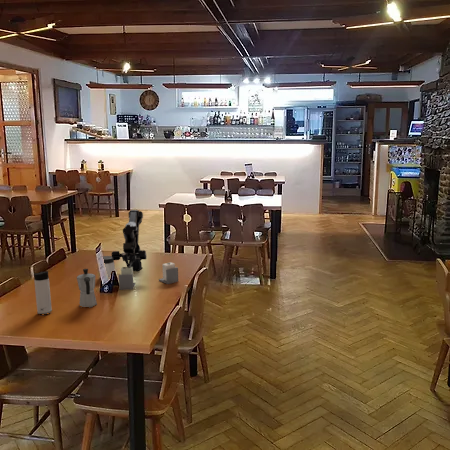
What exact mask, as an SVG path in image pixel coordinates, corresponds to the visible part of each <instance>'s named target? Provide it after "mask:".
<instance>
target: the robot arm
mask: <svg viewBox="0 0 450 450" xmlns="http://www.w3.org/2000/svg"><path fill="white" fill-rule="evenodd" d="M143 219H144V213H143V211H140V210H138V209H131V210H129V211H128V222H127V223H126V224H125V226H124V227H123V229H122V234H123V238H124V242H123V244H122V245H123V246H122V250H123V251H122V253H121V252H120V251H119V250H115V251H114V250H113V251H112V252H111V255H110V256H112V258H113V260H114V261H119V260H121V258H122V261H123V262H125V264H126V265H125V266H126V267H133V272H134V271H135V272H139V271H140V270H142V269H143V267H142V265H143V263H142V260H147V252H146V250H144V249H143V250H141V247H140V244H139V235H140V233H139V231H140V225H141V223H143Z"/></svg>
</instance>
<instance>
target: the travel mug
mask: <svg viewBox="0 0 450 450" xmlns="http://www.w3.org/2000/svg"><path fill="white" fill-rule="evenodd" d="M33 278H34V279H33V280H34V282H33V283H34V292H35V302H36V310H37V312H36V313H37V315H38V314H47V313H50V312H51V311H53V309H52V300H51V299H52V298H51V289H50V287H51V286H50V279H49V271H47V270H44V271H39V272H36V273H33ZM51 313H52V312H51ZM51 313H50V314H51Z"/></svg>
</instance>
